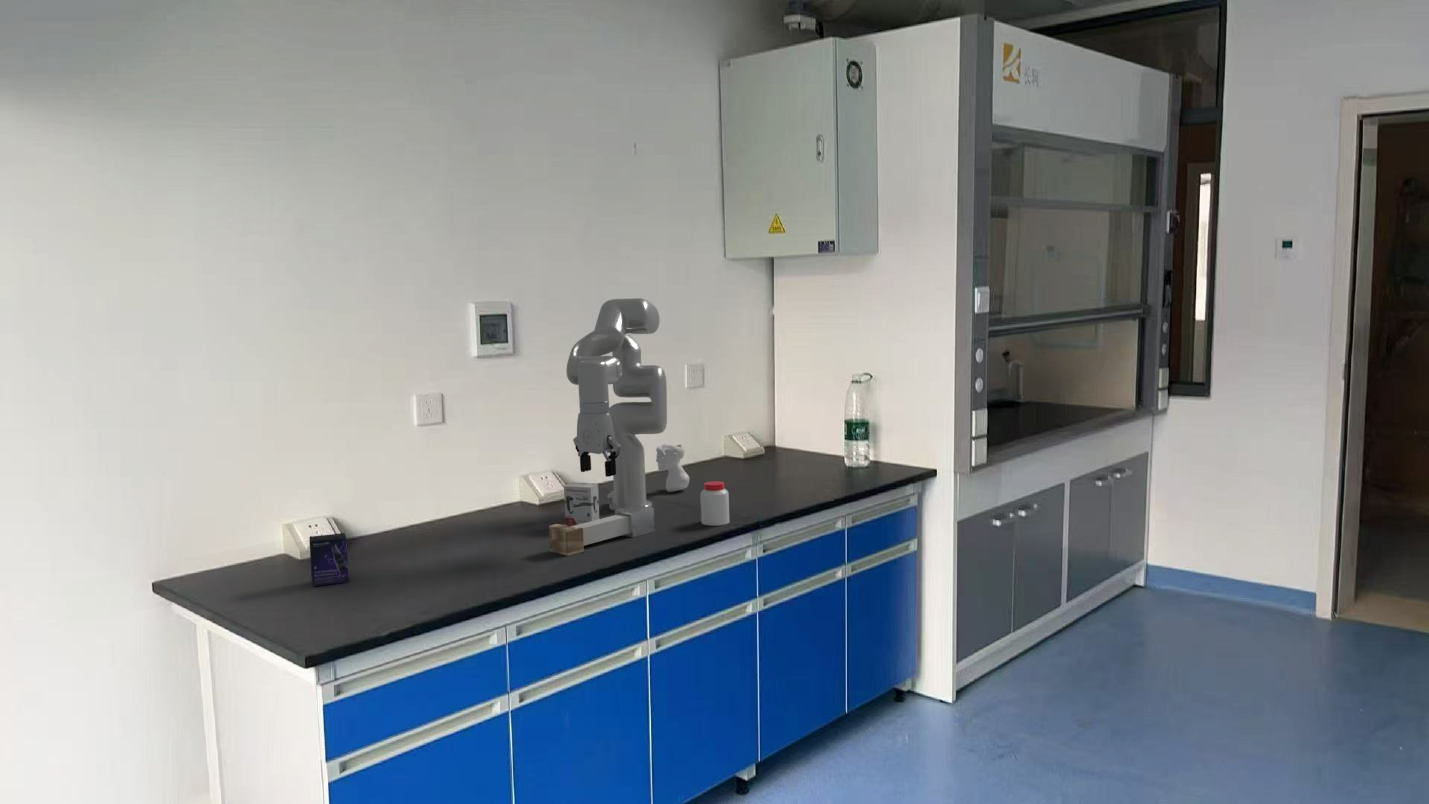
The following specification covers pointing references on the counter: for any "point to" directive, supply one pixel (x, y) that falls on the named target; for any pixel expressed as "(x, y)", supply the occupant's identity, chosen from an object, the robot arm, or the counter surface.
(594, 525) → the light grey bar
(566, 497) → the ink box
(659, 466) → the white bust sculpture
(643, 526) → the sleeve
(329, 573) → the box
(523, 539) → the counter surface
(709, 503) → the pill bottle
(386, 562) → the counter surface
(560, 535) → the crate
